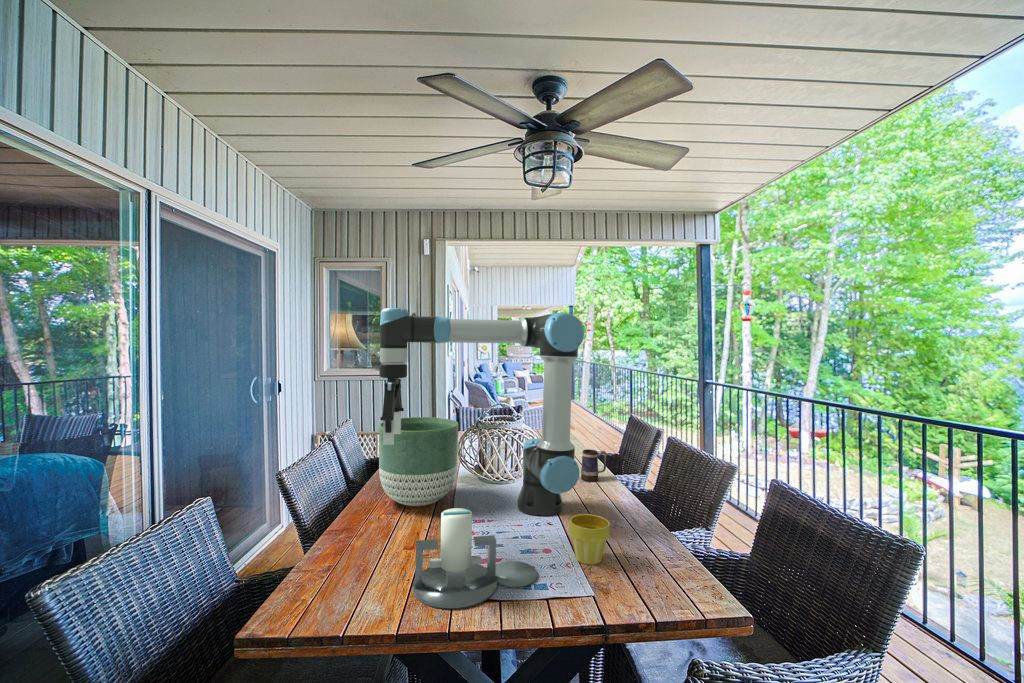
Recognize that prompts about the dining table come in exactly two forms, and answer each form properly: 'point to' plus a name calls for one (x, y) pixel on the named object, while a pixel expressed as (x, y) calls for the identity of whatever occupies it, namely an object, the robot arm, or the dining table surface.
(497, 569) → the coaster
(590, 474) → the mug
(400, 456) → the planter
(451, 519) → the white teal-striped cylinder
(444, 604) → the grey hook stand
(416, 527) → the dining table surface
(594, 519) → the plant pot
